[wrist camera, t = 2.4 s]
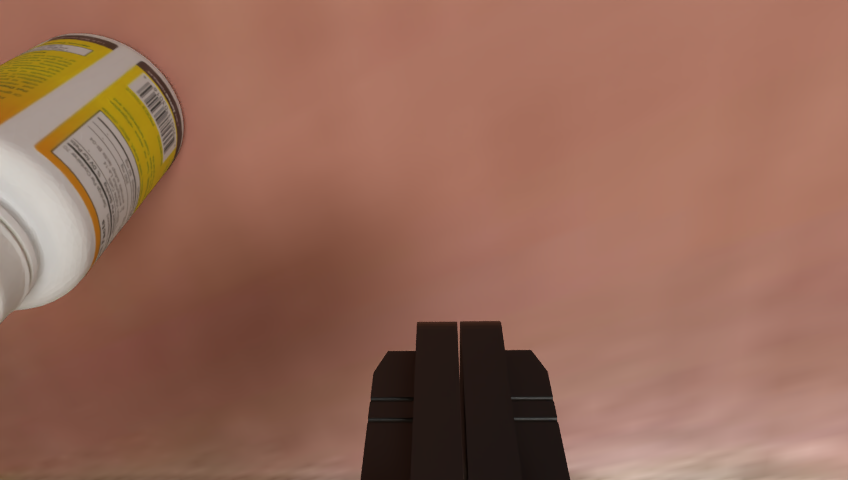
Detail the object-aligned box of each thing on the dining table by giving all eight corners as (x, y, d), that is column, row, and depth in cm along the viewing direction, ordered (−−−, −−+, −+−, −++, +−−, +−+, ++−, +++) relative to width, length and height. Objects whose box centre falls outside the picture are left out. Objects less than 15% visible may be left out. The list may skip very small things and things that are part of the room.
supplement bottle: (4, 111, 22) (-269, 286, 14) (71, -9, 20) (-207, 111, 11) (144, 203, 24) (-17, 406, 16) (220, 104, 22) (80, 278, 13)
